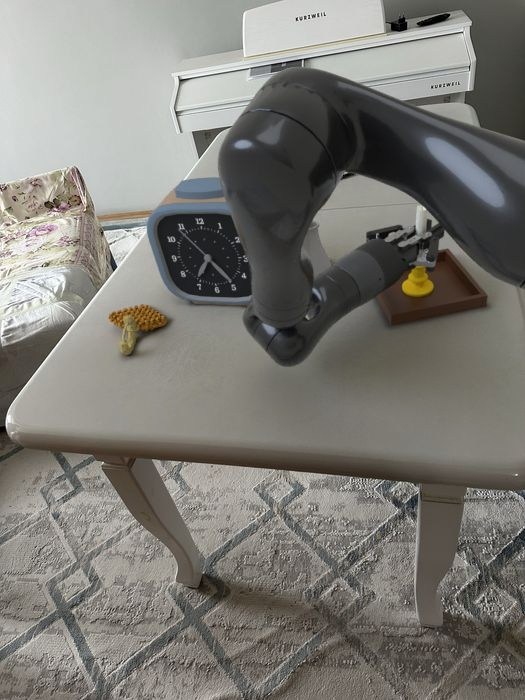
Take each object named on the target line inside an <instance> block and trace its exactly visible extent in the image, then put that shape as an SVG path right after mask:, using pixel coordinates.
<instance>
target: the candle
mask: <svg viewBox="0 0 525 700" xmlns="http://www.w3.org/2000/svg"><path fill="white" fill-rule="evenodd" d="M427 219H428V211H427V210H426V209H425V208H424V207H423V206H422V205H421V204H420V205H417V206H416V215H415V225H416V235H417V236H420V235H421V234H423V233H425V232H426V223H427ZM423 254H425V252H424V253H423ZM423 254H422V255H423ZM421 257H422V256H421ZM425 270H426V269H425V267H424V266H416V268H415V269H413V270H412V273H410V274H409V276H408V280H406V281H405V282H403V284H402V290H403V292H404V293H406V294H407V295H410V296H414V297H422V296H426V295H428V294H430V293H431V292H432V291H433V287H434V285H433V283H432V282H431V281H430V280H428V275H427V274H426V273H425Z"/></svg>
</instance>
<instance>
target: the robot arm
mask: <svg viewBox="0 0 525 700" xmlns="http://www.w3.org/2000/svg"><path fill="white" fill-rule="evenodd" d="M217 154H218V155H217V172H218V177H219V179H220V183H221V187H222V190H223V194H224V197H225V200H226V203H227V206H228V209H229V211H230V214H231V217H232V220H233V222H234V225H235V228H236V231H237V234H238V236H239V239H240V242H241V245H242V247H243V250H244V252H245V255H246V258H247V261H248V264H249V269H250V276H251V291H252V298H251V300H250V302H249V304H248V306H246V308H245V309H244V311H243V313H242V323H243V326H244V328H245V330H246V331H247V333H248V334H249V336H251V338H252V339H253V340H254V341H255V342H256V343H257V344H258V345H259V346H260V348H261V349H262V350H263V351H264V352H265V353H266V354H267V355H268V356H269V357H270V359H271V360H272V361H273V362H274V363H275V364H277V366H280V367H283V368H292V367H296V366H298V365H301V364H302V363H303V362H305V361H306V360H307V359H308V358H309V356H310V355H311V354H312V352H313V351H314V350H315V349H316V347H317V346H318V344H319V343H320V342H321V340H322V339H323V337H324V336H325V335H326V334H327V333H328V331H329V330H331V328H332V327H333V326H335V324H337V323H338V322H339V321H340V320H341V319H343V318H344V317H345V316H346V317H347V315H348V314H350V313H351V312H353V311H355V310H356V309H357V308H359V307H361V306H363V305H365V304H368V303H369V302H370V301H372V300H373V299H374V298H375V299H376V296H377V295H379V294H380V293H382V292H383V291H385V290H386V289H387V288H389V287H390V286H392V285H393V284H395V283H396V282H397V281H398V280H399V279H400V278H401V276H402V275H403V274H404V273H405V272H406V271H409V270H413V269H415V268H416V266H424V267H426V270H427V271H428V272H433V271H434V270H435V266H436V261H437V256H438V250H439V249H440V248H439V247H440V240H441V239H443V238H444V237H445V232H446V233H447V234H448V236H449V237H450V238H451V239H452V240H453V241H454V243H456V245H457V246H458V247H459V248H460V249H461V250H463V252H464V253H465V254H466V255H467V257H469V258H470V259H471V260H472V261H473V262H474V263H475V264H476V265H477V266H478V267H480V268H481V269H482V270H483V271H484V272H486V273H487V274H489V275H490V276H491V277H493V278H495V279H496V280H499V281H500V282H503V283H506V284H508V285H510V286H513V287H516V288H519V289H522V290H524V291H525V140H523V139H520V138H516V137H513V136H509V135H507V134H503V133H501V132H497V131H494V130H490V129H487V128H484V127H481V126H479V125H478V126H477V125H475V124H471V123H468V122H463V121H461V120H457V119H453V118H451V117H448V116H444V115H442V114H438V113H436V112H433V111H430V110H427V109H424V108H422V107H420V106H417V105H415V104H412V103H409V102H407V101H405V100H402V99H399V98H397V97H394V96H392V95H390V94H387V93H385V92H382V91H380V90H377V89H375V88H372V87H369V86H367V85H364V84H362V83H360V82H357V81H354V80H352V79H350V78H347V77H345V76H342V75H338V74H335V73H333V72H330V71H326V70H324V69H320V68H313V67H310V66H309V67H308V66H295V67H294V66H293V67H287V68H284V69H282V70H280V71H278V72H276V73H274V74H273V75H272V76H271V77H269V78H268V79H267V80H266V81H265V83H263V84H262V86H261V87H260V88H259V89H258V90H257V92H256V93H255V94H254V96H253V97H252V98H251V100H250V102H249V103H248V104H247V106H245V109H243V111H242V112H241V114H240V115H239V116H238V117H237V119H236V120H235V121H234V123H233V124H232V125H231V127H230V128H229V130H228V131H227V133H226V134H225V136H224V138H223V140H222V142H221V143H220V147H219V149H218V153H217ZM345 172H349V173H348V174H353V175H358V176H362V177H365V178H368V179H371V180H374V181H376V182H378V183H382V184H384V185H387V186H389V187H392V188H394V189H396V190H398V191H400V192H402V193H404V194H406V195H407V196H409V197H411V198H412V199H414V201H416V202H417V203H418V204H420V205H422V206H423V207H424V208H425V209H426V210H427V213H429V214H430V215H431V216H432V217H433V218H434V219H435V221H436V222H437V223H436V224H435V225H433V220H432V219H431V218H427V223H426V232H425V233H423V234H421V235H420V236H417V235H416V224H415V225H408V226H407V227H403V225H402V224H396V225H391V226H388V227H387V226H386V227H382V228H378V229H372V230H369V231H366V234H365V243H362V244H361V245H360V246H358V247H357V248H355V249H353V250H352V251H349V252H348V253H346V254H345V255H344V256H342V257H341V258H339V259H337V261H335V262H334V263H333V264H332V266H331V267H329V268H328V269H326V270H325V271H323V272H321V273H320V274H318V275H317V276H315V277H314V271H313V265H312V261H311V259H310V257H309V255H308V253H307V252H306V251H305V249H304V248H303V247H302V245H303V242H304V240H305V237H306V234H307V232H308V229H309V227H310V225H311V223H312V221H313V220H315V217H316V215H317V214H318V212H319V211H320V210H322V208H324V206H325V205H326V204H327V202H328V201H329V200H330V198H331V196H332V195H333V194H334V191H335V189H336V188H337V187H338V185H339V183H340V181H341V180H342V178H343V177H344V176H345V175H344V173H345ZM343 175H344V176H343ZM392 233H393V234H392ZM390 234H391V235H390ZM424 252H425V254H423V253H424ZM422 254H423V255H422ZM421 256H422V257H421ZM306 316H307V317H308V318H307V317H306Z"/></svg>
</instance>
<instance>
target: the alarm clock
mask: <svg viewBox="0 0 525 700" xmlns="http://www.w3.org/2000/svg"><path fill="white" fill-rule="evenodd" d="M146 235H147V238H148V243H149V246H150V247H151V251H152V255H153V257H154V261H155V263H156V266H157V269H158V272H159V275H160V277H161V280H162V282H163V284H164V285H165V287H166V288H167V290H168V291H170V292H171V294H173V295H174V296H175V297H177V298H179V299H181V300H183V301H190V302H192V304H196V305H197V304H198V305H222V306H244V307H247V306H248V304H249V302H250V300H251V298H252V291H251V276H250V269H249V264H248V261H247V258H246V255H245V252H244V250H243V247H242V245H241V242H240V239H239V236H238V234H237V231H236V228H235V225H234V222H233V220H232V217H231V214H230V211H229V209H228V206H227V203H226V200H225V197H224V194H223V190H222V187H221V183H220V179H219V176H218V177H212V176H211V177H199V178H198V177H197V178H190V179H183V180H181V181H180V182H179V183H178V184H177V185H176V186H175V187H173V188H172V189H171V190H170V191H169V192H168V193H167V195H166V196H165V197H164V198H163V199H162V201H161V202H159V204H158V205H157V206H156V207H155V208H154V210H153V211H152V212H151V213H150V214H149V216H148V219H147V221H146Z"/></svg>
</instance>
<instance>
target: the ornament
mask: <svg viewBox="0 0 525 700" xmlns="http://www.w3.org/2000/svg"><path fill="white" fill-rule="evenodd" d="M108 321H110V323H112V324H113V325H114V326H116V327H119V328H120V329H122V333H121V340H120V341H119V342H118V346H119V351H120V352H121V353H122V354H123V355H124V356H129V355H131V354H132V352H133V351H134V348H135V345H136V342H137V335H138V332H143V331H144V332H148V331H149V330H150V331H152V330H154V329H155V328H156V329H158V328H160V327H164V326H166V324H167V323H168V320H167V318H166V316H165V315H163V314H162V313H161V312H159V310H155V309H154V308H152V307H151V306H149V305H148V304H143V303H141V304H139V306H138V305H137V304H136V305H134V307H133V306H129V307H124V308H123V309H118V310H117V311H112V312H110V313H109V314H108ZM126 334H127V339H126Z"/></svg>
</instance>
